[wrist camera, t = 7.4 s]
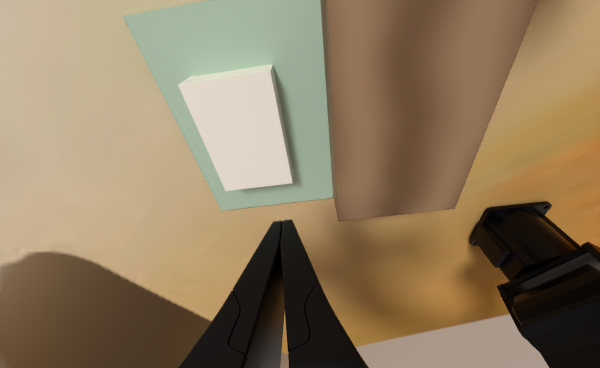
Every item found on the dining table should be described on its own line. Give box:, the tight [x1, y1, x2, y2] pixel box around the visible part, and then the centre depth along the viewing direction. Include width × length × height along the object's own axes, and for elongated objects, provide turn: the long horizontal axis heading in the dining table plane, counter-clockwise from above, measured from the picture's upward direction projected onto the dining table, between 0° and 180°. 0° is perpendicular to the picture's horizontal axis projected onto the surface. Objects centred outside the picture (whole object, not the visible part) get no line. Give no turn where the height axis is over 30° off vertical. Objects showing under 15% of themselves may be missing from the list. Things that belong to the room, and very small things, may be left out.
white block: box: [178, 64, 293, 191], centre depth 18 cm, size 6×9×2 cm, turn 8°
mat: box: [123, 0, 333, 211], centre depth 19 cm, size 12×17×1 cm
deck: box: [320, 0, 538, 221], centre depth 17 cm, size 10×16×4 cm, turn 8°
